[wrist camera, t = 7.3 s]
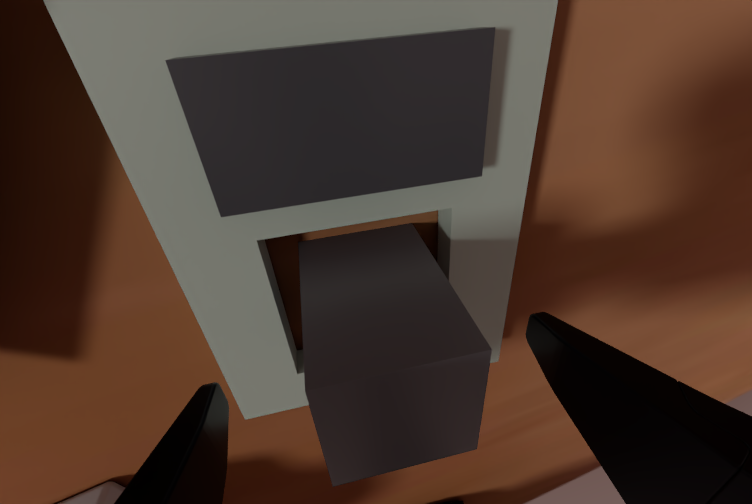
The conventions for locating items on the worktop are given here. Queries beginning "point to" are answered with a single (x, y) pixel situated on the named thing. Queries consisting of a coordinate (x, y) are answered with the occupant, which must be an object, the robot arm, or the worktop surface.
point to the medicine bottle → (98, 495)
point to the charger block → (387, 354)
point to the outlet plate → (315, 144)
